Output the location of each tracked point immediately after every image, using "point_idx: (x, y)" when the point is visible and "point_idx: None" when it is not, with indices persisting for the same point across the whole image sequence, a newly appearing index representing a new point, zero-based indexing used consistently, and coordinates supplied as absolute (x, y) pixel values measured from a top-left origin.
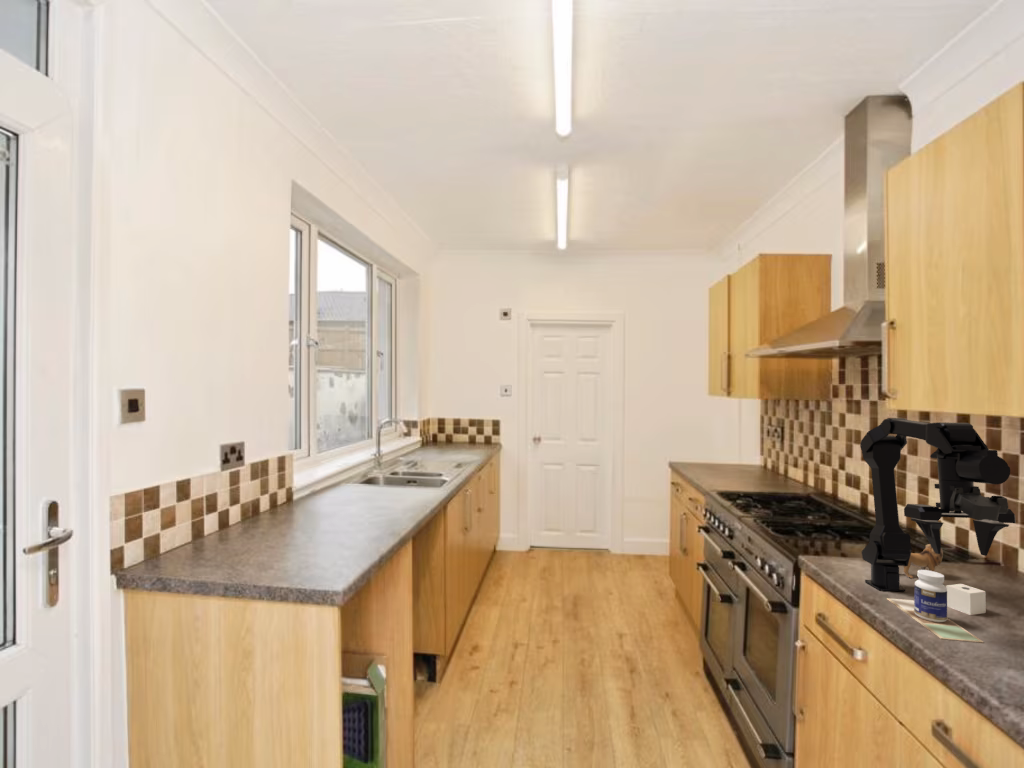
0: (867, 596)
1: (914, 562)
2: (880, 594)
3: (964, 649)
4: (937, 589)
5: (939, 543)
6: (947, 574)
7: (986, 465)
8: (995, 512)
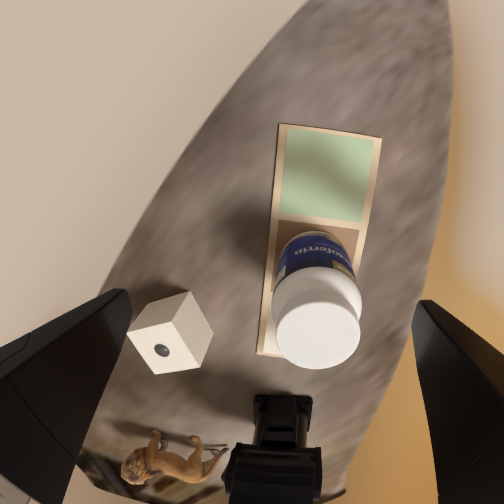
0: (367, 369)
1: (179, 460)
2: (326, 382)
3: (361, 83)
4: (327, 273)
5: (460, 340)
6: (126, 435)
7: None
8: None
